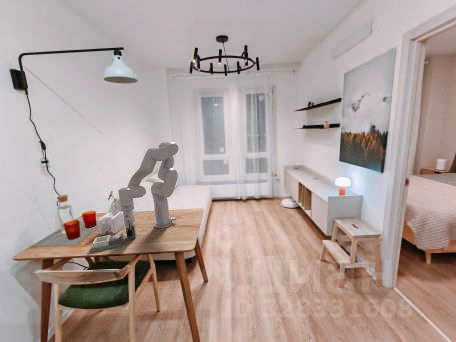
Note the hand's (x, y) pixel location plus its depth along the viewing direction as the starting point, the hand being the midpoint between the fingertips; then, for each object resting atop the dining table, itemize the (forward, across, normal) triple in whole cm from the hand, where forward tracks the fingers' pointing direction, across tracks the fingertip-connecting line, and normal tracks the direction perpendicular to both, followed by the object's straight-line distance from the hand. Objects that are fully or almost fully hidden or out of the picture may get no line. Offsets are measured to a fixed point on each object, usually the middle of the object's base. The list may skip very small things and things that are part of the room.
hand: (130, 232), depth 138 cm
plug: (+4, 0, 0) cm, 4 cm away
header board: (+4, -3, +12) cm, 13 cm away
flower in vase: (+4, +35, +12) cm, 38 cm away
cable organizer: (+4, +17, +14) cm, 22 cm away
